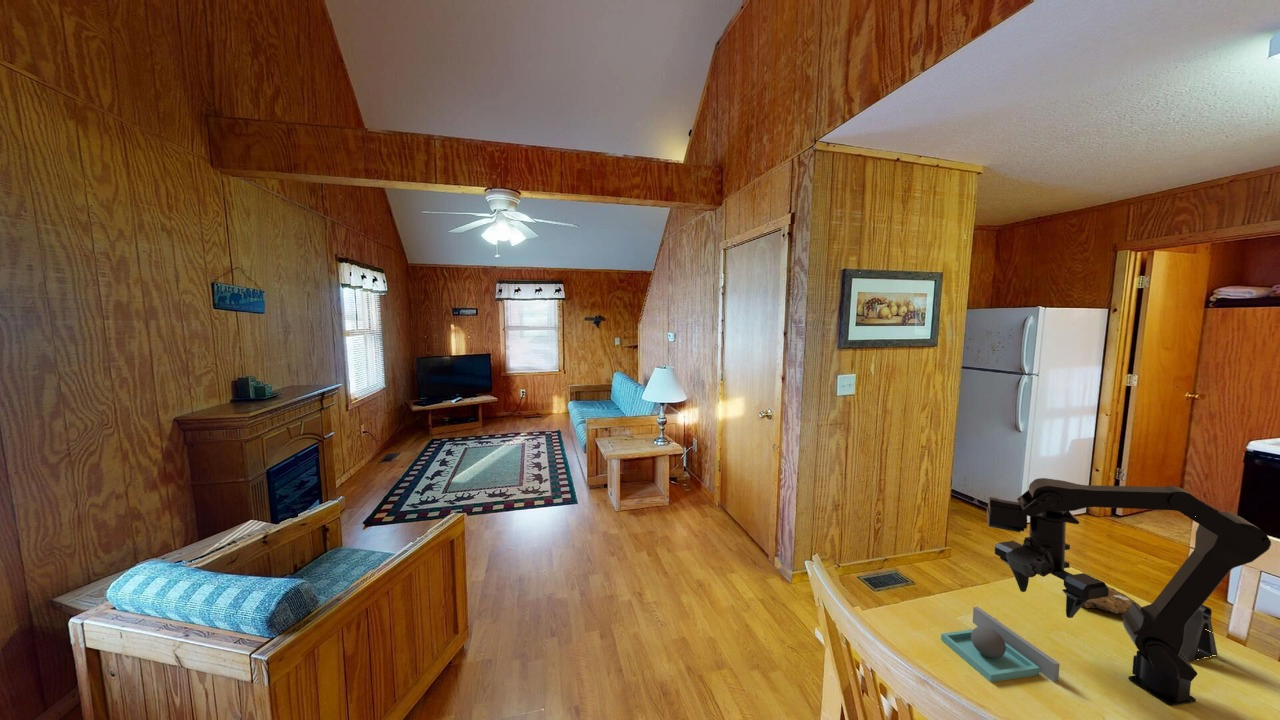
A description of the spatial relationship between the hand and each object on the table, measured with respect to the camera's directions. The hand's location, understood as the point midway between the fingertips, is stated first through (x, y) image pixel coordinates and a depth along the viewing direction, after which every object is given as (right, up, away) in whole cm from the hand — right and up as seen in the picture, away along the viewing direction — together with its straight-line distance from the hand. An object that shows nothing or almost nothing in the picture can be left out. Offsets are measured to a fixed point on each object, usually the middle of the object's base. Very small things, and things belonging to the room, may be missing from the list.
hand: (1045, 603), depth 93 cm
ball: (-13, -8, 0) cm, 16 cm away
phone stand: (+33, -11, +1) cm, 35 cm away
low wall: (-6, -12, +2) cm, 13 cm away
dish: (-13, -12, 0) cm, 18 cm away
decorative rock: (+31, -11, +16) cm, 37 cm away
